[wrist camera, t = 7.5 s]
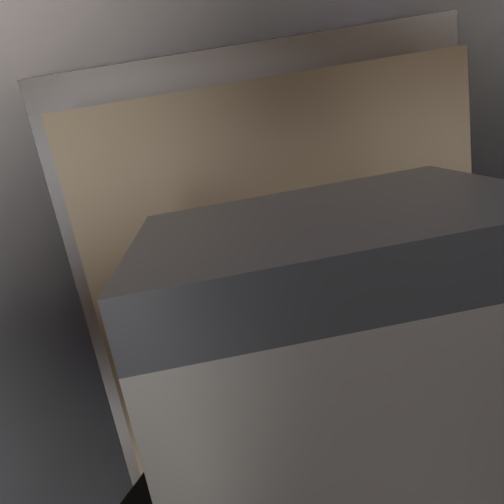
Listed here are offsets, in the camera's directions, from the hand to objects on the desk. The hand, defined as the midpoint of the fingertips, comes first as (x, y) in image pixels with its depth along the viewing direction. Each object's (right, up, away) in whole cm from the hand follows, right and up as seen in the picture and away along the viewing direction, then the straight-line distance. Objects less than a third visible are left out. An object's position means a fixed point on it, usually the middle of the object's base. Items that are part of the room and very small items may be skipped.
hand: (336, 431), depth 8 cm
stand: (-1, +2, +6) cm, 7 cm away
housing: (0, 0, +1) cm, 1 cm away
